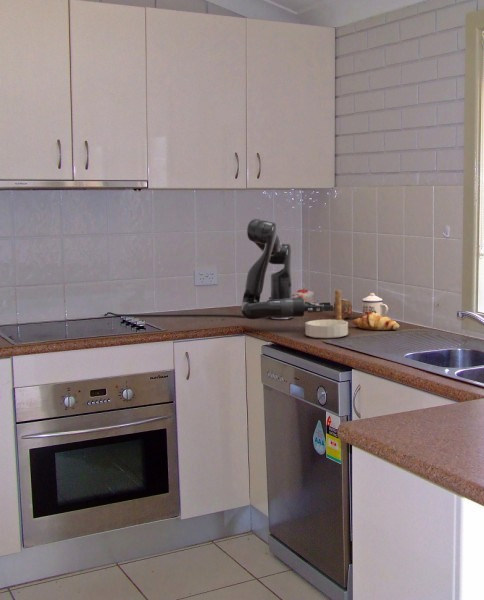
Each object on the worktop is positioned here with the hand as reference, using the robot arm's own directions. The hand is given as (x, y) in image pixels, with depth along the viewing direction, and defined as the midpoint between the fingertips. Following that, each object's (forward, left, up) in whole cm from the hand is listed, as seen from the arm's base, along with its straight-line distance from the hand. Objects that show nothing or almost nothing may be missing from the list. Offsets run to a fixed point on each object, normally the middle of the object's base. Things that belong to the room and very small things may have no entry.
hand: (331, 306), depth 340 cm
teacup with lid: (+6, +31, -10) cm, 34 cm away
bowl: (+4, -14, -10) cm, 17 cm away
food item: (-39, +49, -10) cm, 64 cm away
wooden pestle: (+2, +1, -10) cm, 10 cm away
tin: (-10, +32, -10) cm, 35 cm away
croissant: (+16, +8, -10) cm, 20 cm away
